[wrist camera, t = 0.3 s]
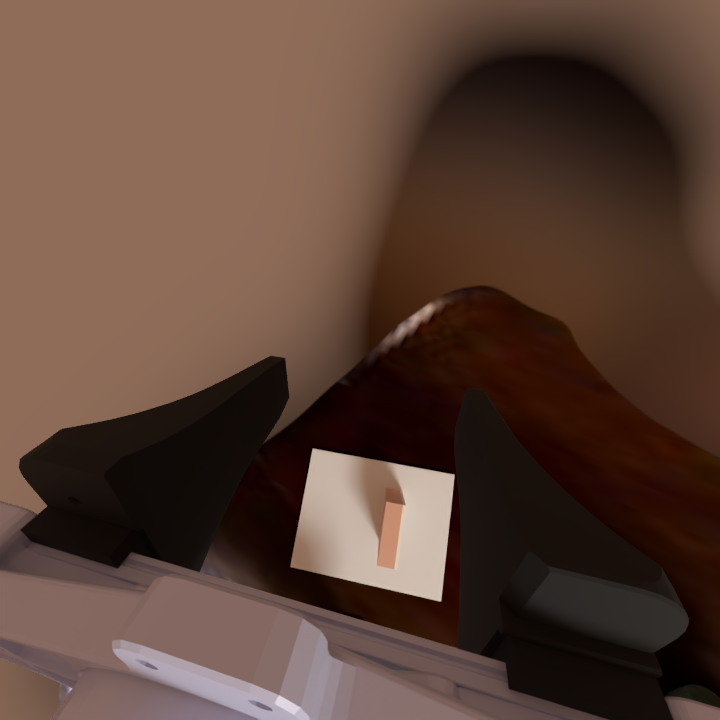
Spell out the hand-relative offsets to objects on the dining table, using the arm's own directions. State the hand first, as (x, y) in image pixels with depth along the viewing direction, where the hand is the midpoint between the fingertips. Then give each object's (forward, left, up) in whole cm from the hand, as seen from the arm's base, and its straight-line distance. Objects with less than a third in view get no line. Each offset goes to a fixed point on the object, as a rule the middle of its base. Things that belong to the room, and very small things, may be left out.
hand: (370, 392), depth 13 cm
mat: (-13, -1, -29) cm, 32 cm away
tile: (-12, -3, -29) cm, 31 cm away
